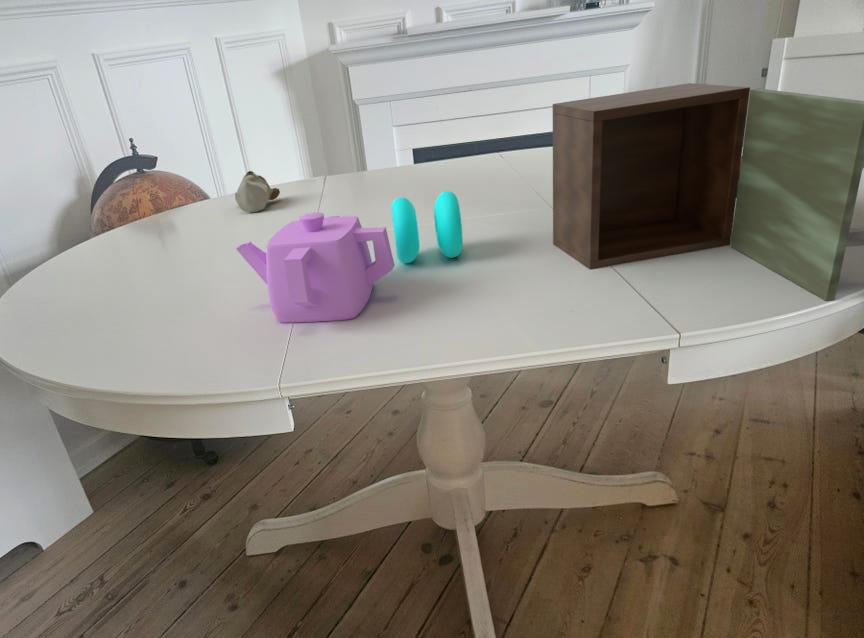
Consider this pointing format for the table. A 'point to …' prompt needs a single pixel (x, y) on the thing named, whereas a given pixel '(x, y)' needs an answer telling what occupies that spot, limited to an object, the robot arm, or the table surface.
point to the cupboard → (647, 172)
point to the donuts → (445, 227)
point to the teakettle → (320, 267)
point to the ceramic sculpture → (254, 193)
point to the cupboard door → (800, 186)
